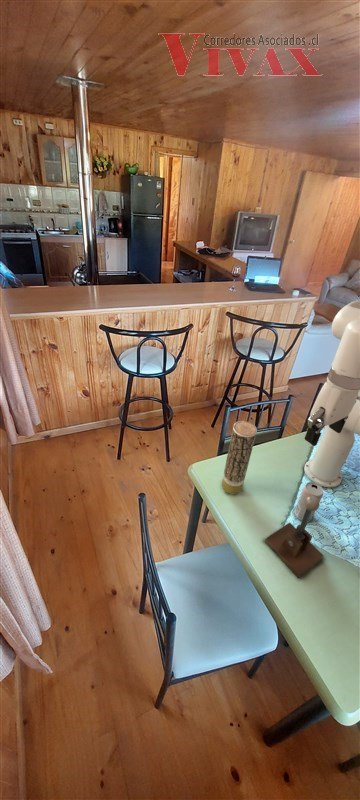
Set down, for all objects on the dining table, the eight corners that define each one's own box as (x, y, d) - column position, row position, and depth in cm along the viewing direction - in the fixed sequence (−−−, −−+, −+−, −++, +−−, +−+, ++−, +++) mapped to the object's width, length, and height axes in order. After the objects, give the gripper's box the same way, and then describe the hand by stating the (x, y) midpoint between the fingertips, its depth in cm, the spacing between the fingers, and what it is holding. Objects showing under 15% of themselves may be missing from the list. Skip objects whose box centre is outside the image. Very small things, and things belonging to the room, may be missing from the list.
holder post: (302, 496, 80) (314, 506, 78) (312, 490, 82) (324, 500, 80) (287, 539, 90) (297, 550, 87) (296, 533, 91) (306, 543, 89)
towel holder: (264, 541, 93) (270, 525, 89) (288, 525, 98) (294, 510, 94) (298, 578, 85) (305, 562, 81) (322, 558, 90) (330, 543, 86)
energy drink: (312, 511, 103) (324, 485, 96) (310, 525, 99) (323, 498, 92) (295, 505, 104) (306, 479, 98) (292, 517, 100) (303, 491, 93)
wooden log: (241, 496, 106) (256, 437, 92) (220, 492, 107) (232, 433, 92) (242, 481, 111) (257, 423, 97) (222, 477, 112) (234, 419, 98)
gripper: (353, 361, 80) (330, 417, 89) (307, 378, 71) (287, 438, 81) (383, 376, 75) (355, 433, 84) (337, 395, 66) (312, 457, 76)
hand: (322, 436), depth 82 cm, fingers open, 9 cm apart
